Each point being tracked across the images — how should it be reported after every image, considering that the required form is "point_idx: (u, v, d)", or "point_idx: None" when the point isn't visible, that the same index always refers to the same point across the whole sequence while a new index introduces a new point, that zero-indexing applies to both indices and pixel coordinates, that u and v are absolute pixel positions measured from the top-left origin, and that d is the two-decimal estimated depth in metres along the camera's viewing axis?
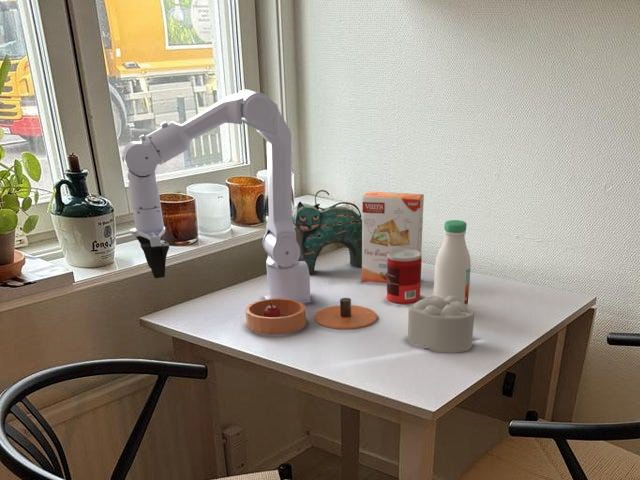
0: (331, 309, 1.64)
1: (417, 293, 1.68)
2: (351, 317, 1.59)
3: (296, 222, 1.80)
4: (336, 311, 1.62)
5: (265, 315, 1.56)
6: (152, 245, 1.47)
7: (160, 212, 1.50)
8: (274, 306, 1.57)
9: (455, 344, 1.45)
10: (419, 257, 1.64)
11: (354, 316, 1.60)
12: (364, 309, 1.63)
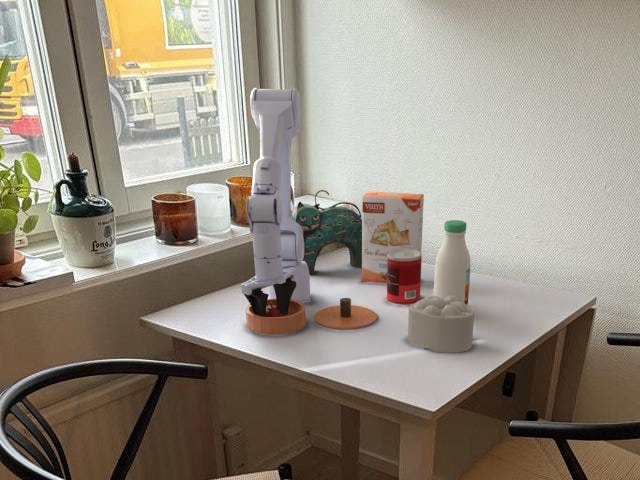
0: (331, 309, 1.64)
1: (417, 293, 1.68)
2: (351, 317, 1.59)
3: None
4: (336, 311, 1.62)
5: None
6: None
7: None
8: (274, 306, 1.57)
9: (455, 344, 1.45)
10: (419, 257, 1.64)
11: (354, 316, 1.60)
12: (364, 309, 1.63)
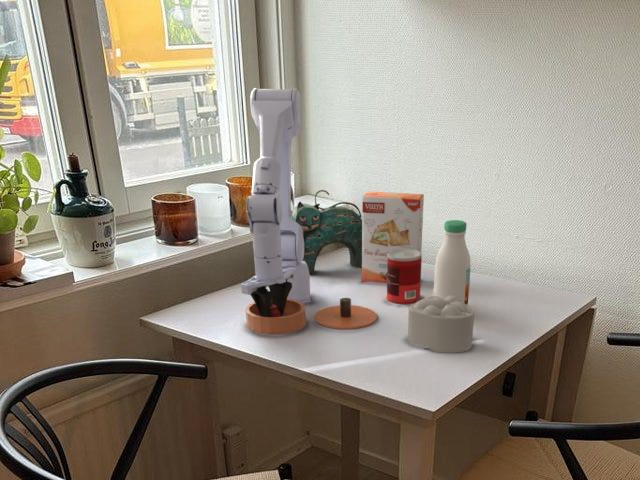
0: (331, 309, 1.64)
1: (417, 293, 1.68)
2: (351, 317, 1.59)
3: None
4: (336, 311, 1.62)
5: None
6: None
7: None
8: (274, 306, 1.57)
9: (455, 344, 1.45)
10: (419, 257, 1.64)
11: (354, 316, 1.60)
12: (364, 309, 1.63)
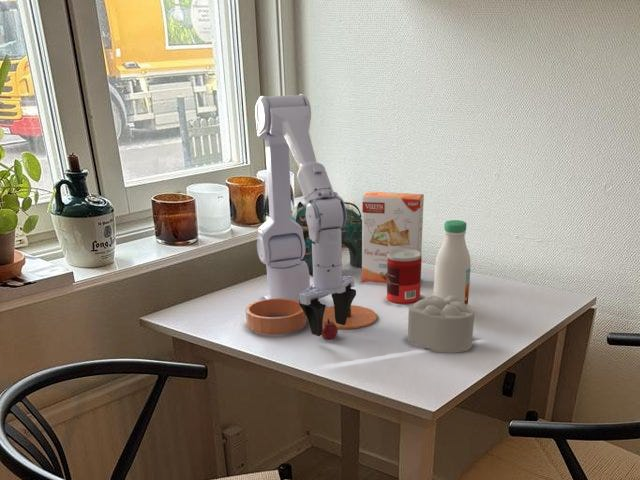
0: (331, 309, 1.64)
1: (417, 293, 1.68)
2: (351, 317, 1.59)
3: None
4: None
5: (322, 332, 1.50)
6: None
7: None
8: (331, 322, 1.50)
9: (455, 344, 1.45)
10: (419, 257, 1.64)
11: (354, 316, 1.60)
12: (364, 309, 1.63)
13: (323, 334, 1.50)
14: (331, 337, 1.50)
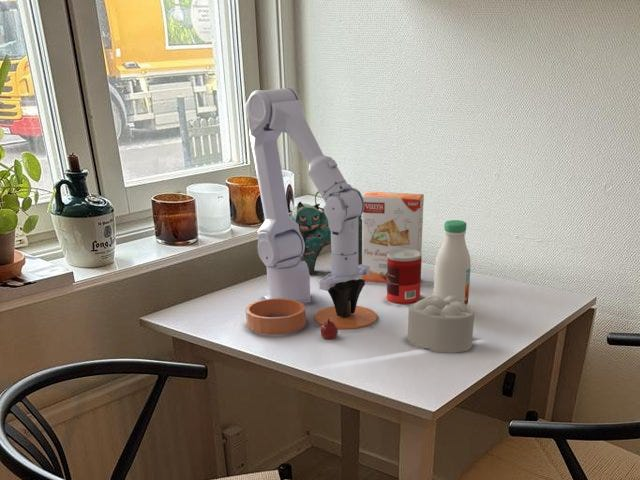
0: (331, 308, 1.64)
1: (417, 293, 1.68)
2: (351, 317, 1.59)
3: (296, 222, 1.80)
4: None
5: (322, 332, 1.50)
6: None
7: None
8: (331, 323, 1.50)
9: (455, 344, 1.45)
10: (419, 257, 1.64)
11: (354, 316, 1.60)
12: (364, 309, 1.63)
13: (323, 334, 1.50)
14: (331, 337, 1.50)
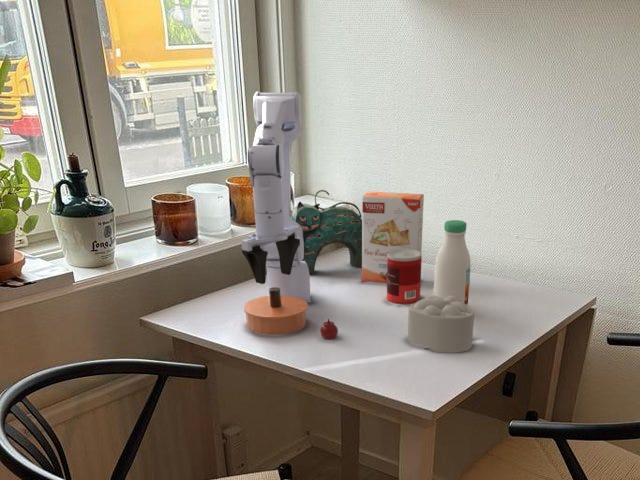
0: (262, 299, 1.59)
1: (417, 293, 1.68)
2: (281, 307, 1.55)
3: None
4: (267, 301, 1.58)
5: (322, 332, 1.50)
6: None
7: None
8: (331, 323, 1.50)
9: (455, 344, 1.45)
10: (419, 257, 1.64)
11: (284, 306, 1.55)
12: (296, 299, 1.59)
13: (323, 334, 1.50)
14: (331, 337, 1.50)
